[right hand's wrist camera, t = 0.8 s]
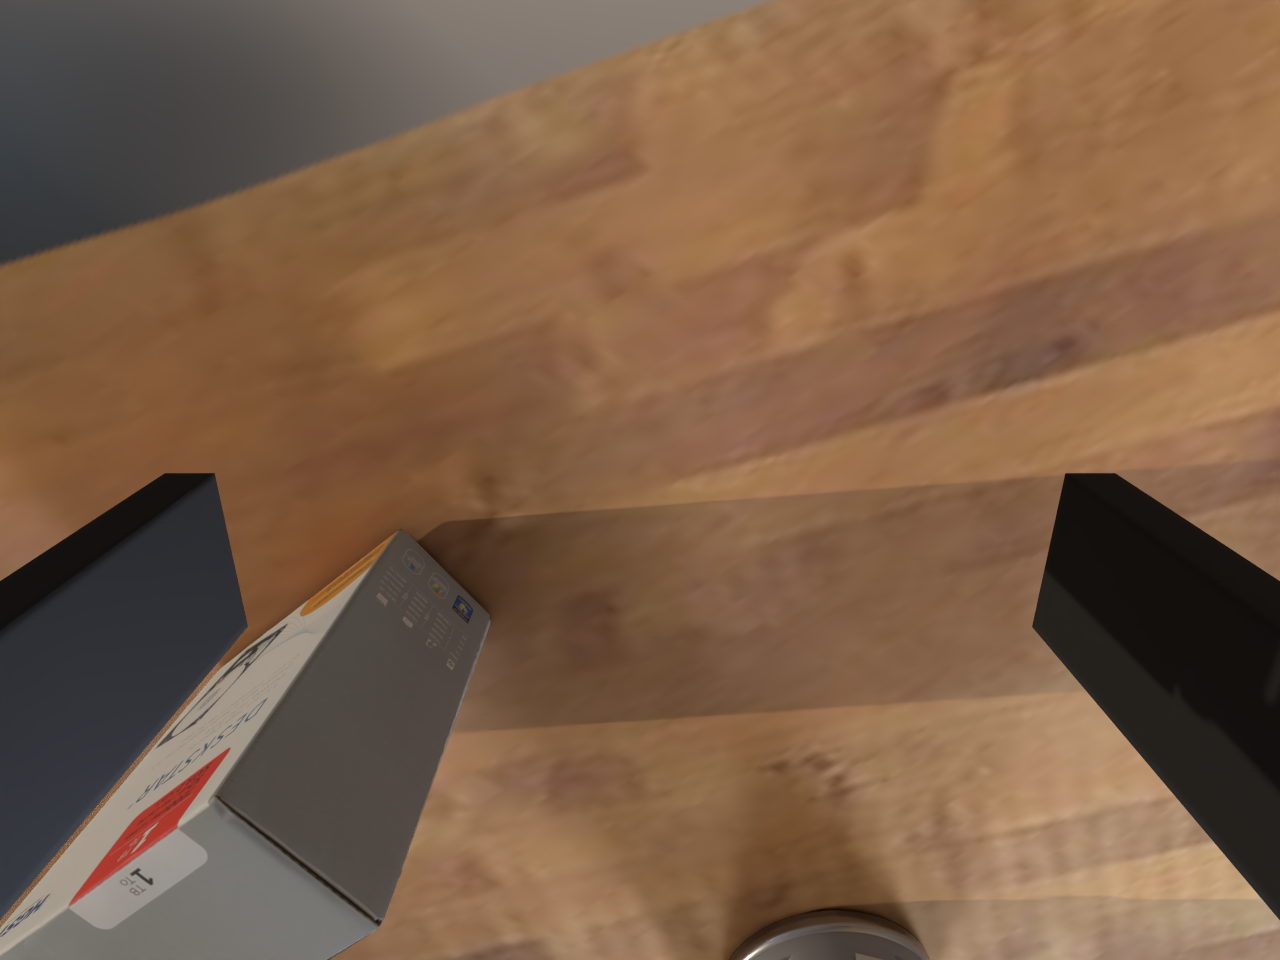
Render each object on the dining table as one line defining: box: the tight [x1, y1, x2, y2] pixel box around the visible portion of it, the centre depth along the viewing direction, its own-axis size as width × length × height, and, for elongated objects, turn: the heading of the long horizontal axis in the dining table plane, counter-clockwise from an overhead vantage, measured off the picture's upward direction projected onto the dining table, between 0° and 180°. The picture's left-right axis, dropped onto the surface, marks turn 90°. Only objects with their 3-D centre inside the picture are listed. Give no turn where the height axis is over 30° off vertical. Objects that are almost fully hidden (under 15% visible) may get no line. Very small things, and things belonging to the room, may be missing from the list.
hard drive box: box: [0, 529, 491, 960], centre depth 37 cm, size 16×8×20 cm, turn 128°
